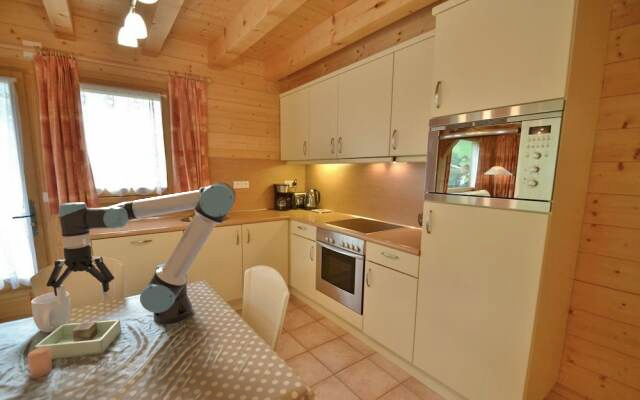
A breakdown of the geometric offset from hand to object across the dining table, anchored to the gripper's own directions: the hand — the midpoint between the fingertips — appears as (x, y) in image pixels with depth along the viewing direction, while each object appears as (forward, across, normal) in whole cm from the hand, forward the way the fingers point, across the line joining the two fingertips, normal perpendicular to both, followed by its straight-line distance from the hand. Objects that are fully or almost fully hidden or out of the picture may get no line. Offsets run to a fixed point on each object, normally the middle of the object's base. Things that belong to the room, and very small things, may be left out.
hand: (83, 301), depth 103 cm
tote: (+15, 0, +3) cm, 15 cm away
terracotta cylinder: (+15, +4, +16) cm, 22 cm away
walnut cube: (+14, 0, 0) cm, 14 cm away
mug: (+15, +18, -10) cm, 25 cm away
